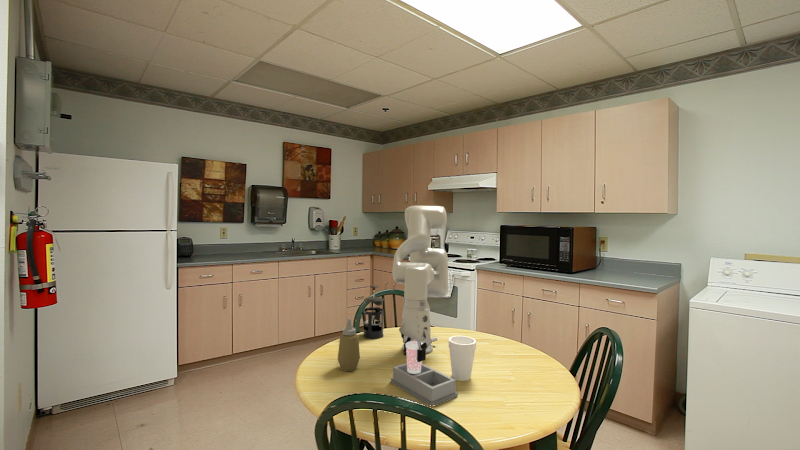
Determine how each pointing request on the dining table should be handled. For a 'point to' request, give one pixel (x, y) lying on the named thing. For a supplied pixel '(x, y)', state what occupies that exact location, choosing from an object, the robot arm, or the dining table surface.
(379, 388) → the dining table surface
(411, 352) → the beverage cup
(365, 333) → the french press
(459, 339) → the foam cup
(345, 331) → the squeeze bottle
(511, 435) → the dining table surface
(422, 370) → the compartment organizer caddy
